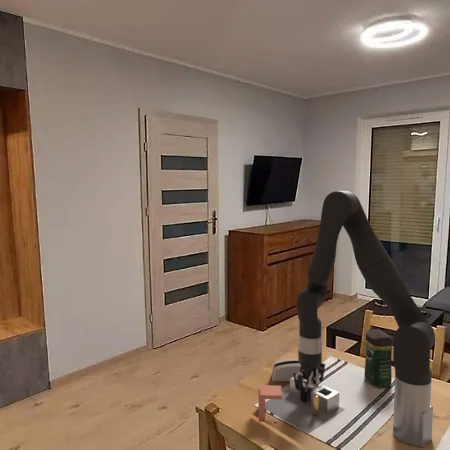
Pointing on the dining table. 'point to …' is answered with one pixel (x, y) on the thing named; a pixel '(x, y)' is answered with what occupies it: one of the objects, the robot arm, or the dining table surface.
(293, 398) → the board
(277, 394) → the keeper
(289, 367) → the grey arched slotted block
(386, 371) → the coffee jar
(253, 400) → the dining table surface
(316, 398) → the knob
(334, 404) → the grey long bar
